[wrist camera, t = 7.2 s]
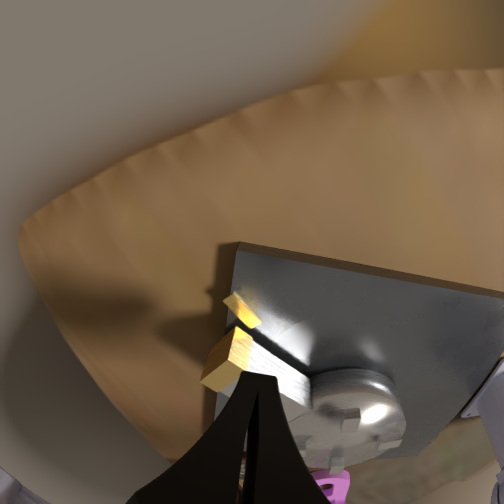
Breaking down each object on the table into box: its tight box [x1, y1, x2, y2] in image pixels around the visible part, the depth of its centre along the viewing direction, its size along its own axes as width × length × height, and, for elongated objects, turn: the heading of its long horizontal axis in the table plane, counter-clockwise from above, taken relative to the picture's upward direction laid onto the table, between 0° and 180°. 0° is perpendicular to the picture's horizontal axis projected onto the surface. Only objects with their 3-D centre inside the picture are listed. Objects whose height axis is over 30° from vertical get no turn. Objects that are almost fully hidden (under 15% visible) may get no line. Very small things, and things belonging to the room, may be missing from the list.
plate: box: [214, 242, 504, 459], centre depth 19 cm, size 22×20×1 cm
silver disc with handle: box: [199, 326, 406, 475], centre depth 17 cm, size 15×9×4 cm, turn 50°
